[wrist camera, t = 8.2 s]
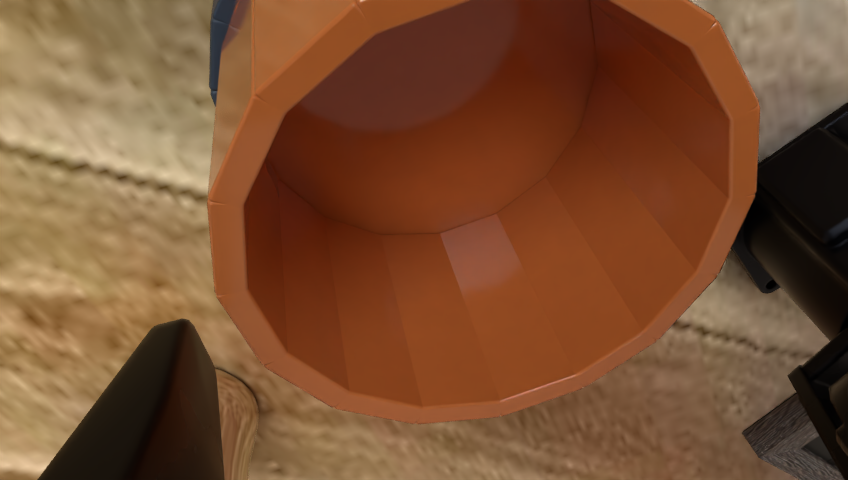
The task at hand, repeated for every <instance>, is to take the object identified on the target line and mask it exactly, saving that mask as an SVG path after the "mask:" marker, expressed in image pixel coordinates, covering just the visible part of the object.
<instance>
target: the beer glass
mask: <svg viewBox="0 0 848 480" xmlns="http://www.w3.org/2000/svg"><path fill="white" fill-rule="evenodd" d="M215 372H216V377H217V388H218V400H219V413H220V426H221V438H222V451H223V464H224V478H225V480H248V476H249V467H250V461H251V456H252V451H253V447H254V442H255V438H256V433H257V428H258V421H259V410H258V406H257V402H256V400H255V397H254V396H253V394H252V392H251V391H250V390H249V389H248V387H247V386H246V385H244V384H243V383H242V382H241V381H240V380H238V379H237V378H235V377H233V376H232V375H230V374H228V373H225V372H223V371H221V370H218V369H215Z"/></svg>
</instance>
